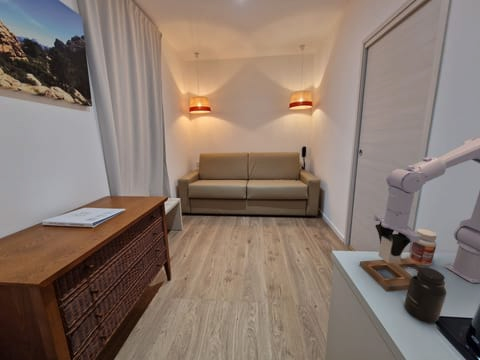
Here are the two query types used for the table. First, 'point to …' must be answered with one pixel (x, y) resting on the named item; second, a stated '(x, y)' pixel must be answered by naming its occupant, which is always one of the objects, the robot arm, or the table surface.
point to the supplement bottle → (426, 295)
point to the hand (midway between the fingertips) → (389, 251)
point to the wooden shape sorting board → (395, 269)
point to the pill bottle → (424, 247)
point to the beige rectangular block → (388, 250)
